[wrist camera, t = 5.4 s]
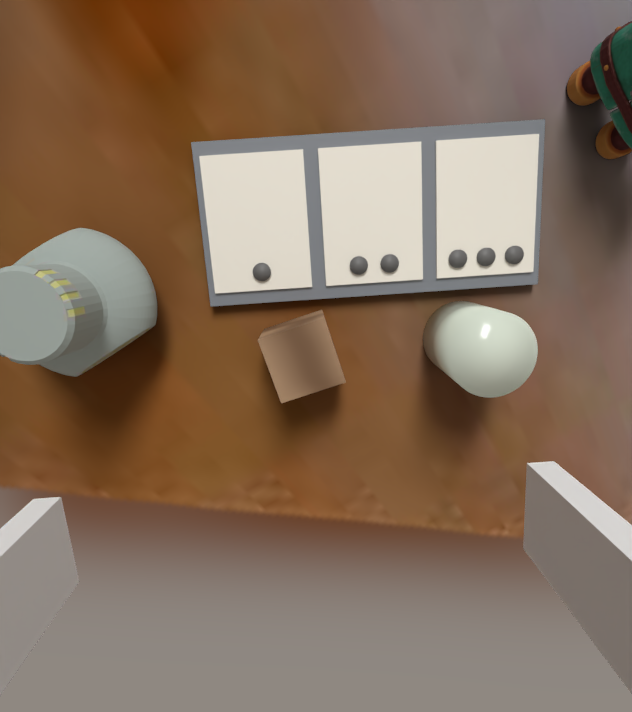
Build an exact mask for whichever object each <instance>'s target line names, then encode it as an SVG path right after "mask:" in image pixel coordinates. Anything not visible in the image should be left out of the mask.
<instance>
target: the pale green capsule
mask: <svg viewBox="0 0 632 712" xmlns="http://www.w3.org/2000/svg"><path fill="white" fill-rule="evenodd" d="M423 345H424V349H425V352H426V354H427V356H428V358H429V359H430V360H431V361H432V362H433V363H434V364H435V365H436V366H437V367H438V368H440V369H441V370H442V371H443V372H444V373H446V374H447V375H448V376H449V377H450V378H452V379H453V380H454V381H455V382H456V383H457V384H459V385H460V386H461V387H462V388H464V389H465V390H466V391H468V392H469V393H471V394H474V395H476V396H480V397H487V398H493V397H499V396H503V395H506V394H508V393H511V392H512V391H514V390H516V389H517V388H519V387H520V386H521V385H522V384H523V383H524V382H525V381H526V380H527V379H528V377H529V376H530V374H531V373H532V371H533V369H534V366H535V364H536V360H537V354H538V347H537V341H536V337H535V335H534V333H533V331H532V329H531V328H530V326H529V325H528V324H527V323H526V322H525V321H524V320H523V319H521V318H520V317H518V316H516V315H514V314H512V313H508V312H504V311H501V310H497V309H494V308H490V307H487V306H483V305H479V304H476V303H472V302H469V301H454V302H450V303H448V304H445V305H443V306H442V307H440V308H439V309H437V310H436V311H435V312H434V313H433V314H432V315H431V317H430V318H429V320H428V321H427V323H426V325H425V328H424V333H423Z"/></svg>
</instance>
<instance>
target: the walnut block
mask: <svg viewBox="0 0 632 712" xmlns="http://www.w3.org/2000/svg"><path fill="white" fill-rule="evenodd" d="M258 342H259V345H260V348H261V350H262V353H263V356H264V358H265V361H266V364H267V366H268V369H269V372H270V374H271V377H272V380H273V383H274V385H275V388H276V391H277V393H278V396H279V399H280V401H281V403H284V402H287V401H290V400H293V399H297V398H300V397H303V396H306V395H309V394H312V393H315V392H318V391H321V390H324V389H327V388H330V387H333V386H336V385H339V384H342V383H345V382H346V381H345V378H344V375H343V372H342V368H341V365H340V362H339V359H338V356H337V353H336V350H335V347H334V344H333V341H332V338H331V335H330V332H329V329H328V326H327V323H326V320H325V317H324V314H323V311H322V310H319V311H316V312H313V313H310V314H307V315H304V316H301V317H298V318H295V319H292V320H289V321H287V322H284V323H281V324H278V325H275V326H272V327H269V328H266V329H264V330H263V332H262V334H261V335H260V337H259V339H258Z"/></svg>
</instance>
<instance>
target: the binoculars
mask: <svg viewBox="0 0 632 712" xmlns="http://www.w3.org/2000/svg"><path fill="white" fill-rule="evenodd" d="M567 93H568V96H569V98H570V100H571V101H572V102H574V103H575V104H577V105H589V104H591V103H593V102H595V101H597V100H599V99H600V98H601V99H602V101H603V103H604V105H605V107H606V109H607V110H611V109H614V108H616V107H618V109H616V110H614V111H612V112H611V113H610V116H611V118H612V121H611V122H608V123H607V124H606V125H604V126H603V127H602V128H601V130H600V131H599V133H598V135H597V138H596V149H597V151H598V153H599V154H600V155H601V156H602V157H604V158H606V159H615V158H618V157H621V156H624V155H626V154H629V153H630V152H632V21H631V22H628V23H627V24H625V25H624V26H622V27H617V28H616V30H615V32H613V33H612V34H610V35H609V36H608V37H606V39H605V40H604V41H603V42H602V43H600V44H599V45H598V46H597V47H596V48H595V49H594V51H593V52H592V55H591V59H590V61H588V62H587V63H585V64H584V65H582V66H580V67H579V68H578V69H576V70H575V71H574V72H573V73H572V75H571V77H570V78H569V81H568V85H567ZM629 100H631V102H630V103H629Z"/></svg>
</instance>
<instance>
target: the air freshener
mask: <svg viewBox="0 0 632 712" xmlns="http://www.w3.org/2000/svg"><path fill="white" fill-rule="evenodd" d="M156 320H157V298H156V292H155V289H154V286H153V283H152V280H151V278H150V276H149V274H148V272H147V270H146V268H145V267H144V266H143V264H142V263H141V261H140V260H139V259H138V258H137V257H136V256H135V255H134V254H133V253H132V252H131V251H130V250H129V249H128V248H127V247H126V246H124V245H123V244H122V243H120V242H119V241H117V240H116V239H114V238H112V237H110V236H108V235H106V234H103V233H101V232H98V231H95V230H91V229H86V228H77V229H73V230H70V231H68V232H65V233H63V234H61V235H59V236H57V237H55V238H53V239H51V240H49V241H47V242H45V243H44V244H42V245H40V246H39V247H37V248H36V249H34V250H32V251H31V252H29V253H28V254H27V255H25V256H24V257H22V258H21V259H20V260H18V261H17V262H16V263H15V264H13V265H12V266H9V267H4V268H1V269H0V355H1V356H2V357H4V356H6V357H8V358H9V359H10V360H11V361H13V362H17V363H21V364H27V365H30V364H40V365H41V366H43V367H45V368H47V369H49V370H51V371H54V372H57V373H60V374H63V375H68V376H75V377H77V376H79V375H81V374H83V373H84V372H86V371H88V370H89V369H91V368H93V367H94V366H96V365H97V364H99V363H101V362H102V361H104V360H105V359H107V358H108V357H110V356H111V355H113V354H115V353H116V352H118V351H119V350H121V349H122V348H124V347H125V346H127V345H128V344H130V343H131V342H133V341H134V340H135V339H137V338H138V337H140V336H141V335H143V334H144V333H145V332H147V331H148V330H150V329H151V328H152V327H154V326H155V325H156Z"/></svg>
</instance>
